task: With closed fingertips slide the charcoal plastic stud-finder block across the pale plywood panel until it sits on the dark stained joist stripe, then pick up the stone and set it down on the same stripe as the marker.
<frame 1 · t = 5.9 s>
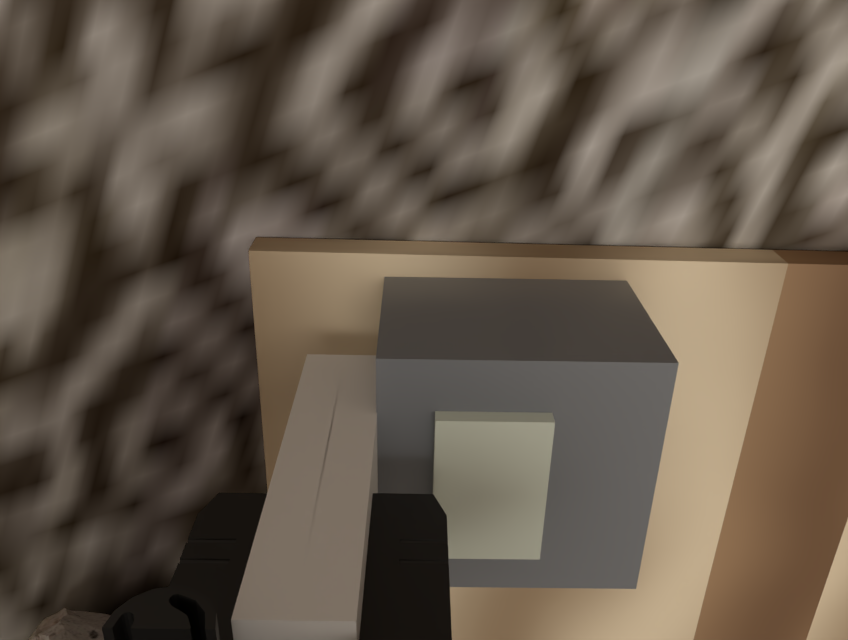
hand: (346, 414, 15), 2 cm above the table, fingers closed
subfloor panel: (596, 594, 21), on the table
finder: (498, 383, 17), point 1 cm above the table, touching gripper, subfloor panel
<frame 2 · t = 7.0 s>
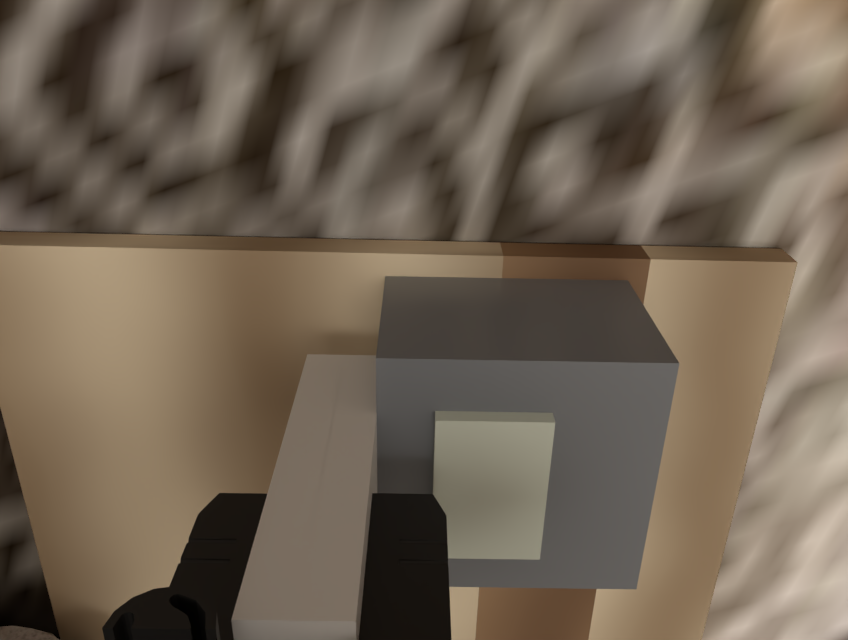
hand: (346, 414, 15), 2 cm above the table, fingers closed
subfloor panel: (382, 590, 21), on the table
finder: (499, 383, 17), point 1 cm above the table, touching gripper
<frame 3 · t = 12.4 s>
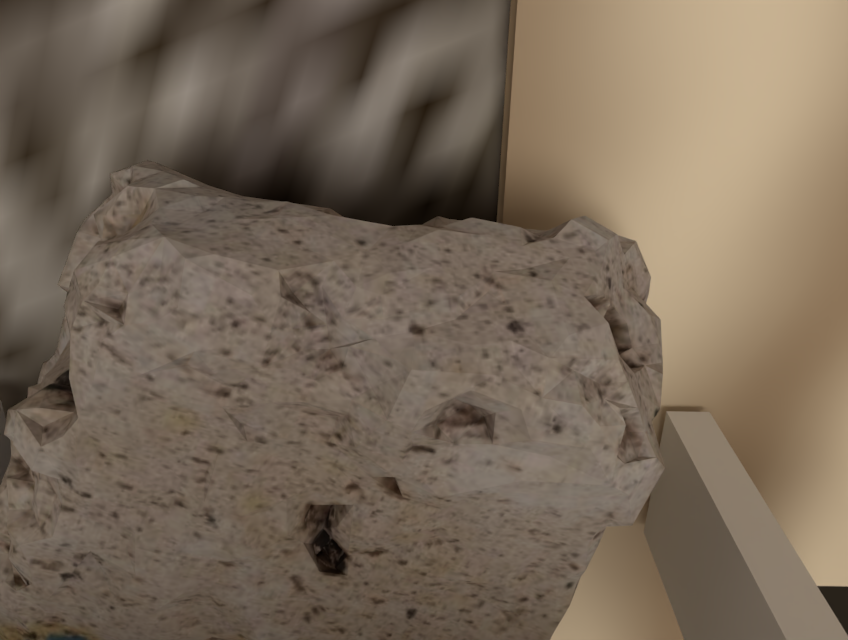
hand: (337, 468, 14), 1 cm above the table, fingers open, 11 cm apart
stone: (339, 455, 14), on the table, touching subfloor panel
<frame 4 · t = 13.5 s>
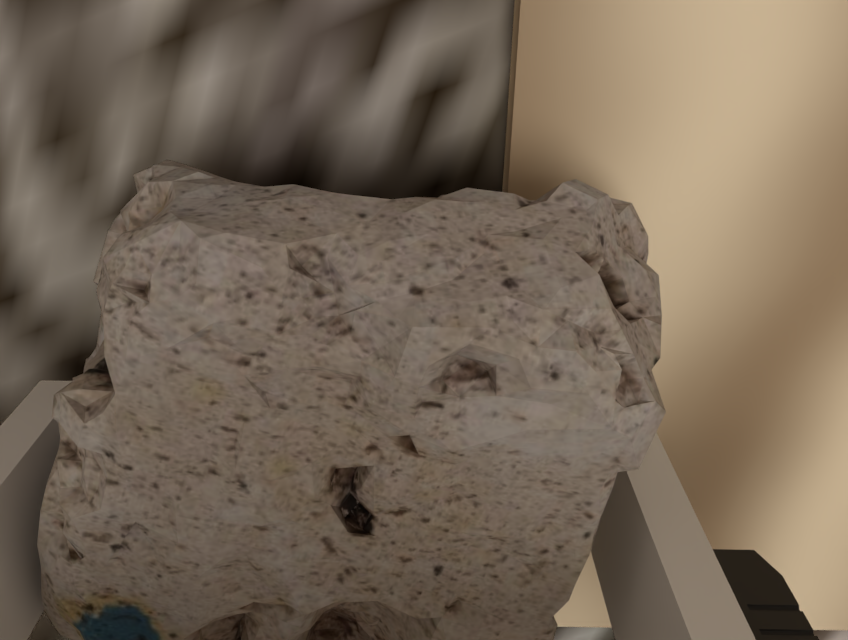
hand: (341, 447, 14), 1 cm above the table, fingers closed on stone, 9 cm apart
stone: (368, 435, 15), on the table, touching gripper
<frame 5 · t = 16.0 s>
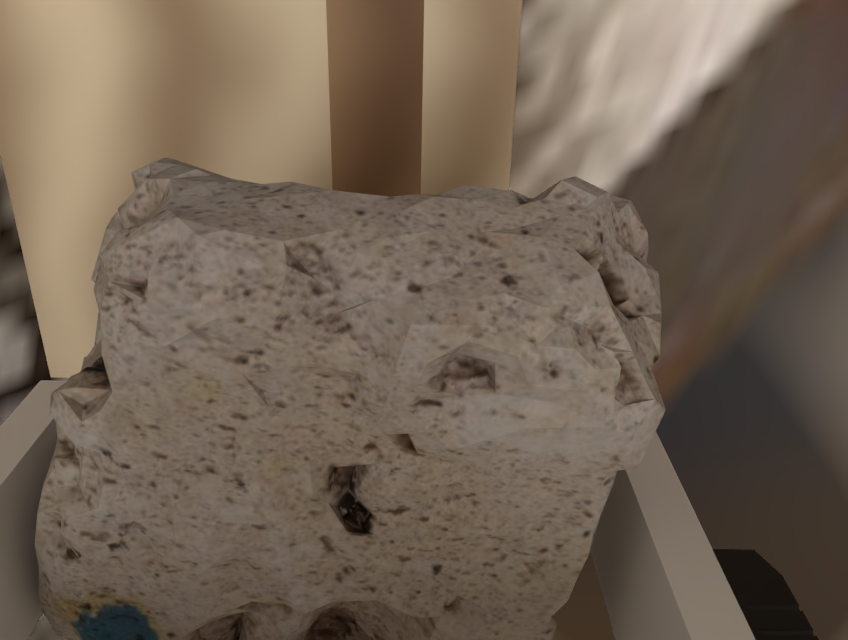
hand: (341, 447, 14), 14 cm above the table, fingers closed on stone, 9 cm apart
subfloor panel: (257, 110, 26), on the table
stone: (367, 434, 15), point 14 cm above the table, touching gripper
when the fingers open (2 cm above the table, at t = 18.6 s): stone stays where it is, resting on subfloor panel.
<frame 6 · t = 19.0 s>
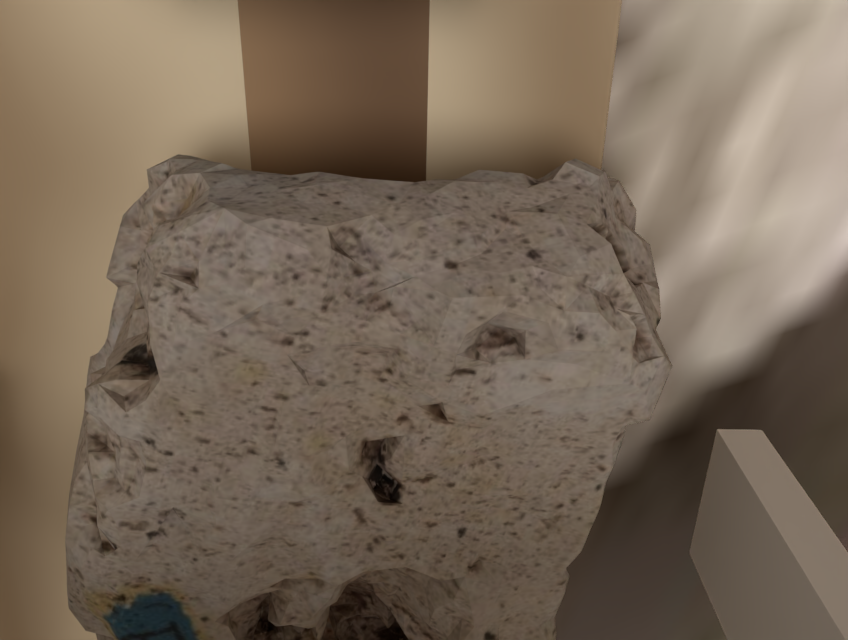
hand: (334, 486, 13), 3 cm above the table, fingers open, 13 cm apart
subfloor panel: (134, 234, 14), on the table
stone: (365, 417, 16), point 1 cm above the table, touching subfloor panel
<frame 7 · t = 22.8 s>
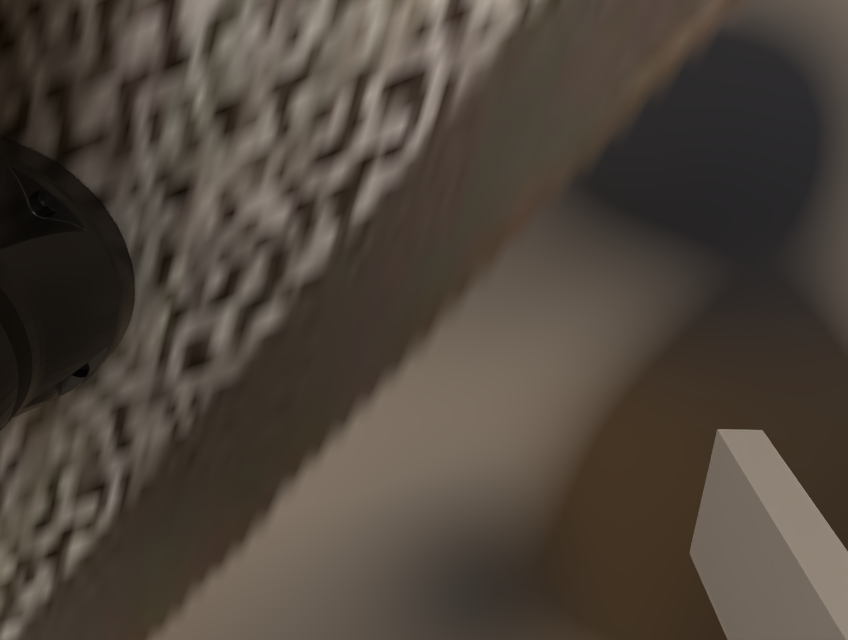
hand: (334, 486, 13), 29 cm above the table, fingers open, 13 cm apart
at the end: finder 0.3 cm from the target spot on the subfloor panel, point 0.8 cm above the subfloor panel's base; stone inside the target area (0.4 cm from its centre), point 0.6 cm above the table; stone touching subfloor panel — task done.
